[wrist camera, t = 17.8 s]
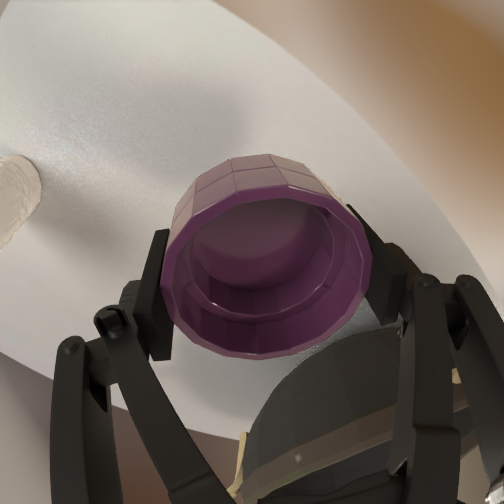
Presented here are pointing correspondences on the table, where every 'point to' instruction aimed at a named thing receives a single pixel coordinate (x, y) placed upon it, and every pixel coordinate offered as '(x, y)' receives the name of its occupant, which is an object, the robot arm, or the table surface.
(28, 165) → the white cup
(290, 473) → the bowl
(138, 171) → the table surface
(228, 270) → the plum dish
